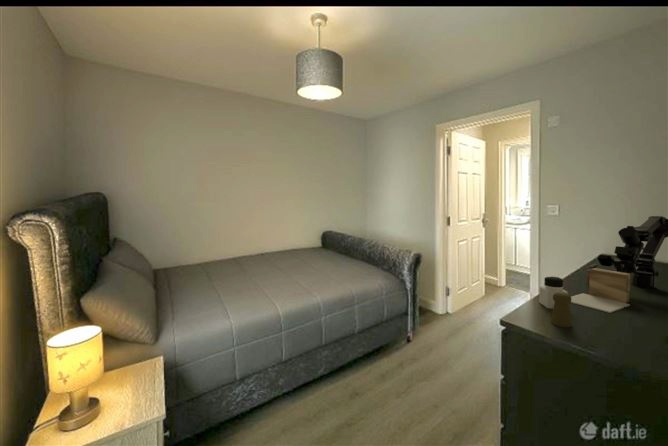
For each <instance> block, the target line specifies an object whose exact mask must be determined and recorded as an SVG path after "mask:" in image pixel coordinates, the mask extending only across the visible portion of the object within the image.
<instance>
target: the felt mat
mask: <svg viewBox="0 0 668 446" xmlns="http://www.w3.org/2000/svg"><path fill="white" fill-rule="evenodd" d="M570 304H574V305H578V306H581V307H586V308H589V309H594V310H597V311H601V312H605V313H608V314H611V313H614V312H617V311H619V310H622V309H625V308H627V307H629V306H631V304H630V303H622V302H618V301H614V300H609V299H605V298H601V297H596V296H592V295H589V293H588V294H587V293H583V292H582V293H579V294H576V295H572V296H571V303H570ZM624 307H625V308H624Z"/></svg>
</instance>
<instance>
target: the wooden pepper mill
mask: <svg viewBox="0 0 668 446" xmlns="http://www.w3.org/2000/svg"><path fill="white" fill-rule="evenodd" d="M571 297H572V296H571V295H570V294H569V293H568V294H566V293H554V294H553V300H554V301H555V303H554V308H553V309H552V313H551V319H550V323H551V324H552V325H554V326H557V327H559V328H560V327H561V328H572V327H573V321H572V314H571V309H570V307H571V306H570V304H572V303H571Z"/></svg>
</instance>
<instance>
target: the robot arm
mask: <svg viewBox="0 0 668 446" xmlns="http://www.w3.org/2000/svg"><path fill="white" fill-rule="evenodd" d="M617 233H618V236H619V238H620V240H621V242H622V243H623V244H625V245H624V246H619V245H618V246H615V250H614V252H613V253H614V254H615V255H616V256H615V257H613V258H612V257H611V255H607V254H598V256H597V261H598V262H599V264H600V265H601V266H602V267H612V266H613V267H614V268H615V270H616V272H622V273H628V274H630V275H631V274H633V276H632V282H630V285H631V286H635V287H637V288H641V289H657V288H658V287H657V286H655V277H659V276H660V269H659V267H658V264H657V262H656V259H655V258H656V256H657V255H658V252H659V250H660V249H661V246H662V244H663V243H664V241H665V238H668V218H666V217H665V216H663V215H651V216H648V219H647V220H645V221H644V222H643V223H642V224H640V225H639V226H633V225H627V226H626V227H623V228H621V229H620V230H618V232H617ZM644 242H646V243H645V244H644Z"/></svg>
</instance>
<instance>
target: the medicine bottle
mask: <svg viewBox="0 0 668 446" xmlns="http://www.w3.org/2000/svg"><path fill="white" fill-rule="evenodd" d="M543 285H544V286H543ZM543 285H542V286H539V294H538V295H539V297H538V299H539V303H540V304H541V305H543V306H544V307H545V308H546V309H551V310H553V308H554V303H555V301H554V300H553V294H554V293H566V294H568V295H569V292H568V291H567V290H565V289H563V288H564V280H563V278H561V277H559V276H554V275H552V276H545V277H544V284H543Z"/></svg>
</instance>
